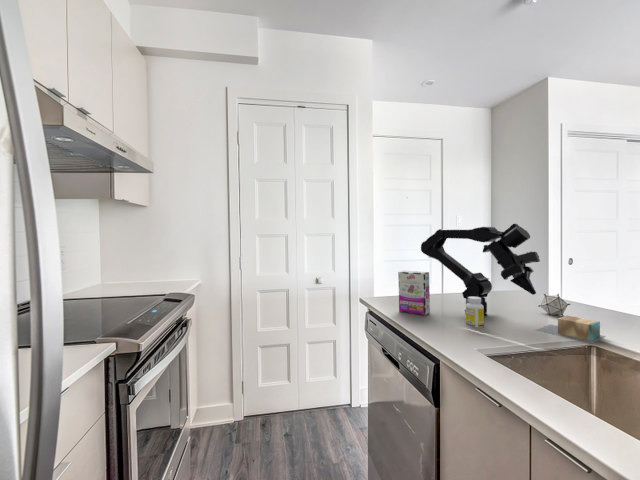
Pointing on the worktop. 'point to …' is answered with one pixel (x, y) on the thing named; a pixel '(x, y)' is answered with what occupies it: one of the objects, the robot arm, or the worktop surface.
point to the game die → (554, 305)
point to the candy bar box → (414, 292)
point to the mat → (554, 330)
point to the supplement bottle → (474, 312)
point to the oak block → (579, 327)
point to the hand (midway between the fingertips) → (534, 294)
